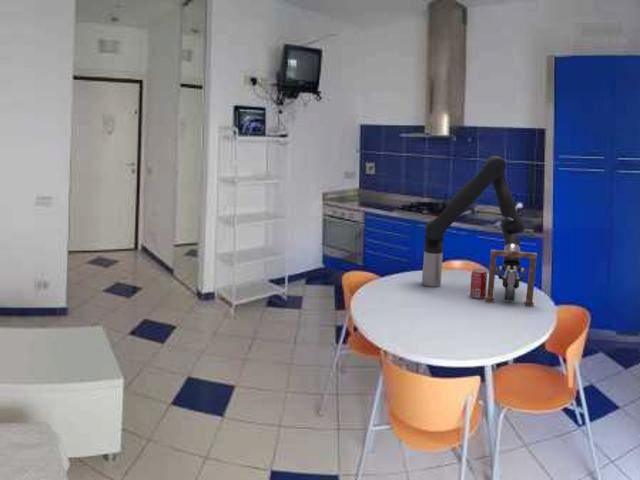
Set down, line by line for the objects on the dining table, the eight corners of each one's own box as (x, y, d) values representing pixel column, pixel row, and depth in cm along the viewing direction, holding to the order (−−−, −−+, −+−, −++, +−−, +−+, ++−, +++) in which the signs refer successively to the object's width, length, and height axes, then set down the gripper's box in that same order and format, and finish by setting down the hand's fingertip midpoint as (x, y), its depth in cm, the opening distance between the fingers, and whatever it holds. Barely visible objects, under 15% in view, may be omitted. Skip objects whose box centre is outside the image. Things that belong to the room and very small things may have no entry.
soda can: (486, 299, 247) (488, 273, 244) (470, 298, 248) (472, 272, 246) (484, 295, 254) (486, 269, 251) (469, 294, 255) (471, 268, 252)
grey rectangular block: (504, 300, 241) (507, 271, 239) (504, 297, 246) (506, 268, 243) (514, 301, 240) (517, 272, 237) (514, 298, 244) (516, 269, 242)
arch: (485, 301, 244) (489, 251, 239) (485, 298, 249) (489, 249, 244) (533, 306, 238) (539, 255, 233) (533, 303, 242) (538, 252, 238)
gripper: (496, 250, 248) (494, 281, 239) (529, 252, 244) (528, 284, 235) (495, 258, 254) (493, 289, 245) (527, 261, 250) (526, 292, 241)
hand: (510, 287), depth 240 cm, fingers closed on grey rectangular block, 4 cm apart
